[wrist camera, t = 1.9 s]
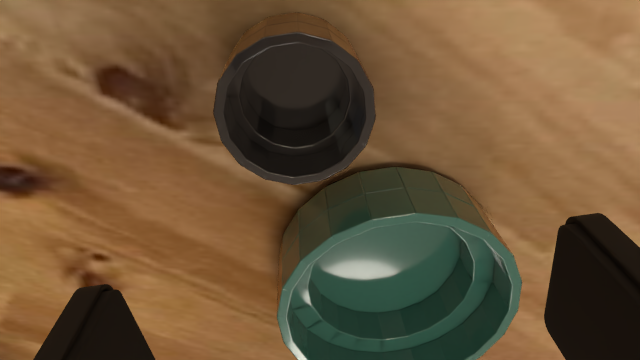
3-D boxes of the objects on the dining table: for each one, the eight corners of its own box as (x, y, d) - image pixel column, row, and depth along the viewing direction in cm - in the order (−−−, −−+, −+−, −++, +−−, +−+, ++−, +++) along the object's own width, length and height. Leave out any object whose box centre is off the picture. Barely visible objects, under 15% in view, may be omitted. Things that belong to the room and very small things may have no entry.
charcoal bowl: (245, 148, 25) (235, 193, 21) (213, 23, 22) (194, 47, 18) (364, 130, 25) (380, 172, 21) (353, 1, 22) (368, 20, 17)
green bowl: (298, 334, 34) (299, 401, 29) (260, 180, 27) (254, 236, 22) (478, 309, 34) (509, 372, 29) (491, 146, 26) (534, 195, 22)
